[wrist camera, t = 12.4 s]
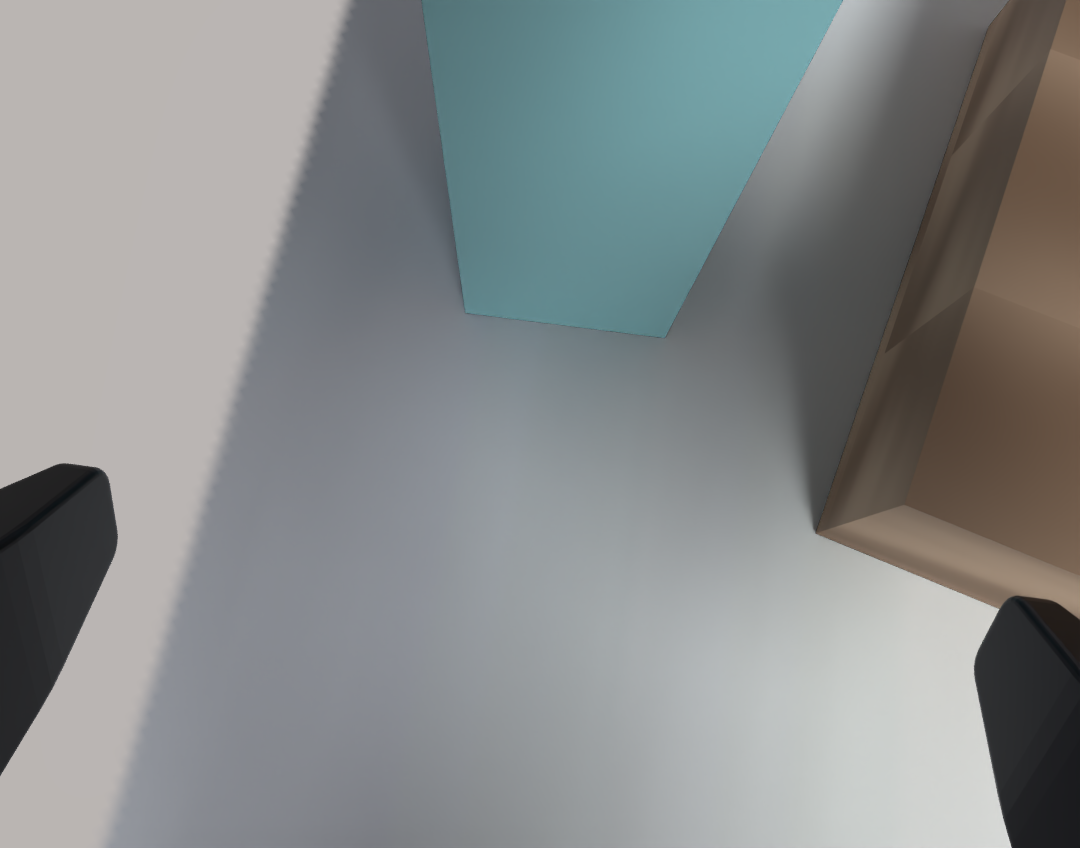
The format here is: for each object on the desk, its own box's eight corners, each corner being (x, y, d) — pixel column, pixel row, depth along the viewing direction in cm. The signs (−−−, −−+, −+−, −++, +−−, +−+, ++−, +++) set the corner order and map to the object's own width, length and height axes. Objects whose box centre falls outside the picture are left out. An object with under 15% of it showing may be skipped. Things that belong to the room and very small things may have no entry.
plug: (664, 338, 18) (844, -4, 8) (465, 312, 18) (412, -60, 8) (681, 156, 19) (862, -343, 9) (491, 132, 19) (472, -393, 9)
